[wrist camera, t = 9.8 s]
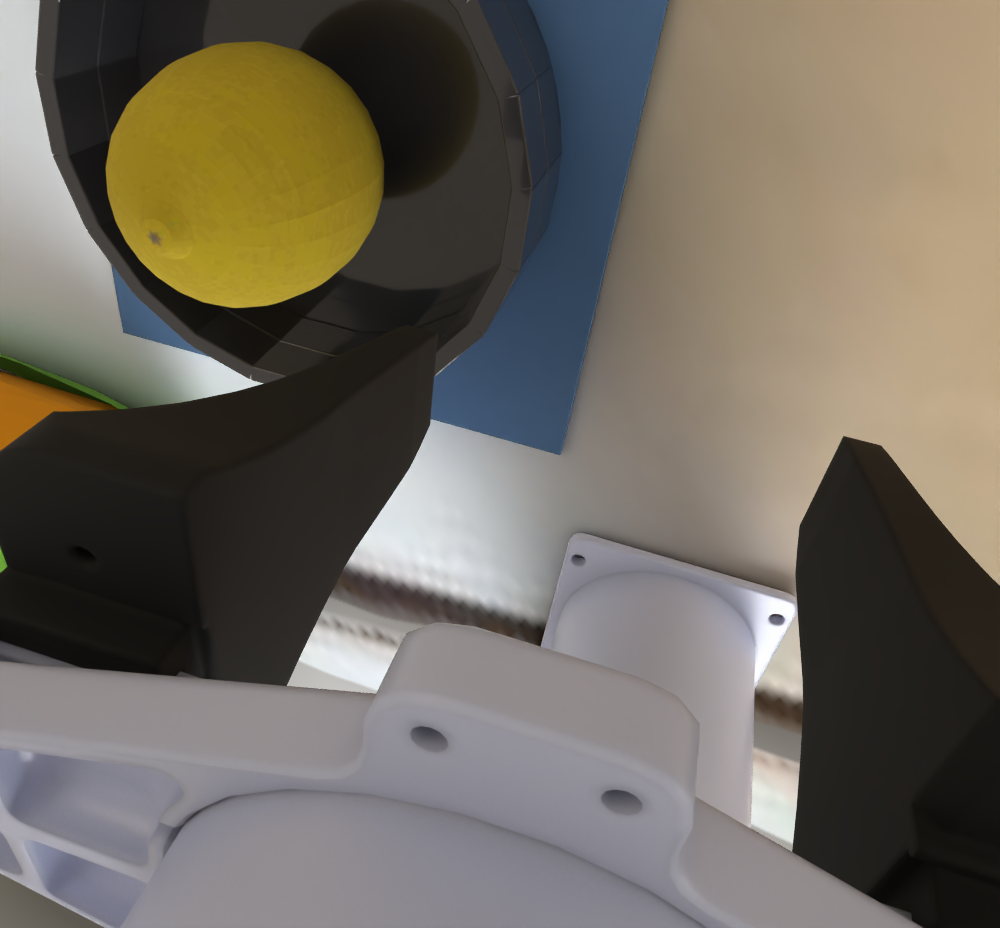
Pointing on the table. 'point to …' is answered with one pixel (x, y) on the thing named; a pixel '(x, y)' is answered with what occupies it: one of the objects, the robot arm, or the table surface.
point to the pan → (404, 142)
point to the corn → (39, 401)
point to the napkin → (565, 245)
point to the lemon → (245, 174)
